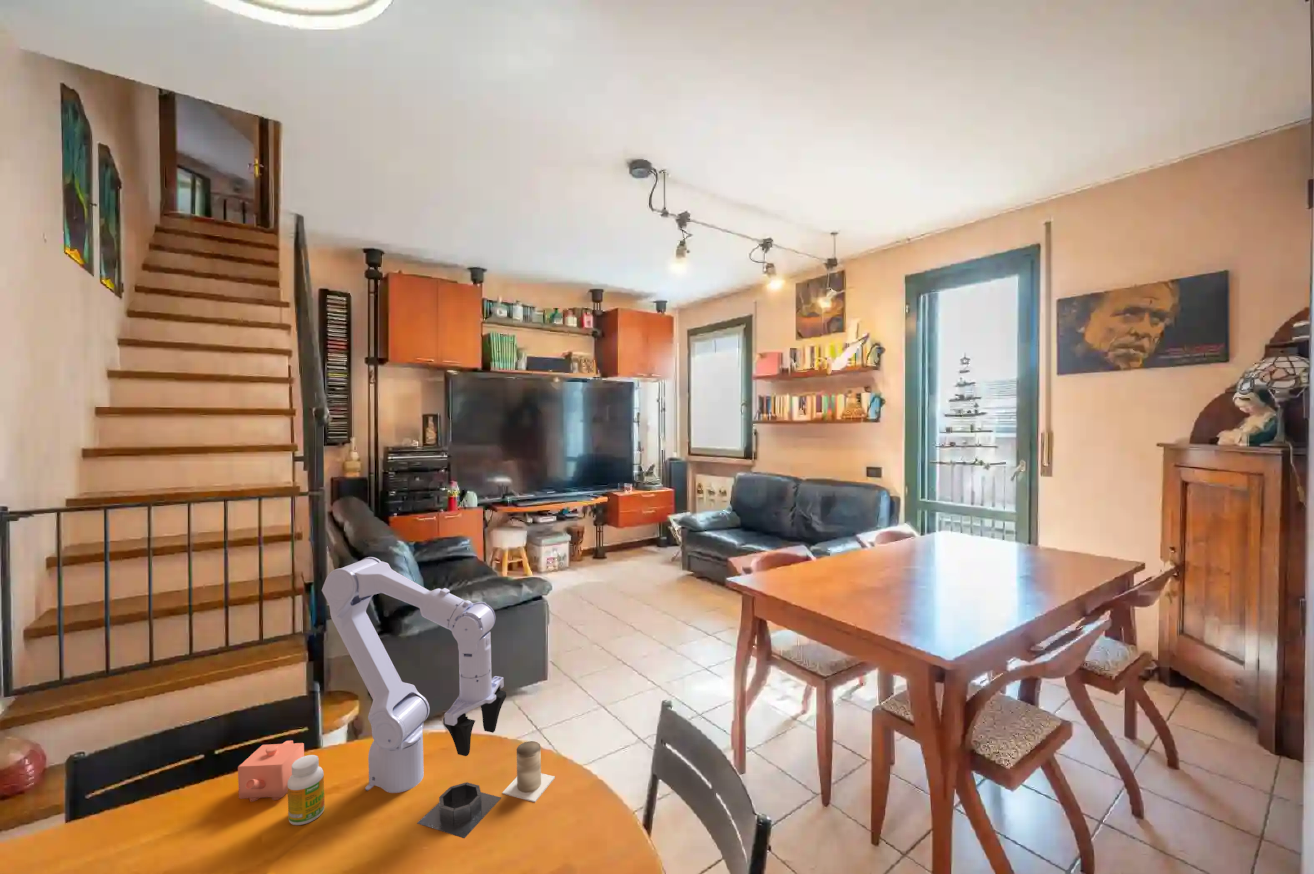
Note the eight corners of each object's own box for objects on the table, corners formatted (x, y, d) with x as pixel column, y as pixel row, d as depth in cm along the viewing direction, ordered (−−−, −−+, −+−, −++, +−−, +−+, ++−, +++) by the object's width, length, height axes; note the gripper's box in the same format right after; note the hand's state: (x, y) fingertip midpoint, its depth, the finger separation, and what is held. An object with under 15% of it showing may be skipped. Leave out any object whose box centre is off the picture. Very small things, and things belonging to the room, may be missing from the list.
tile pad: (502, 797, 99) (502, 792, 99) (524, 773, 106) (523, 768, 106) (535, 806, 97) (535, 800, 97) (555, 781, 104) (555, 776, 103)
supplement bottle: (307, 828, 92) (305, 773, 92) (280, 823, 93) (278, 769, 93) (331, 806, 98) (330, 753, 97) (306, 802, 99) (305, 750, 98)
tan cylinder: (512, 789, 100) (511, 752, 100) (525, 774, 104) (525, 739, 104) (532, 794, 99) (532, 757, 98) (545, 779, 103) (544, 743, 102)
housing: (417, 827, 92) (416, 808, 92) (457, 789, 102) (456, 772, 101) (464, 842, 89) (464, 823, 89) (501, 801, 98) (501, 784, 98)
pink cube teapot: (226, 817, 95) (224, 771, 95) (270, 772, 107) (269, 732, 107) (272, 814, 96) (270, 769, 95) (311, 770, 108) (309, 730, 107)
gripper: (467, 693, 92) (468, 770, 93) (516, 657, 106) (517, 724, 106) (434, 686, 95) (436, 761, 95) (486, 652, 108) (487, 718, 109)
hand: (476, 742), depth 101 cm, fingers open, 7 cm apart
